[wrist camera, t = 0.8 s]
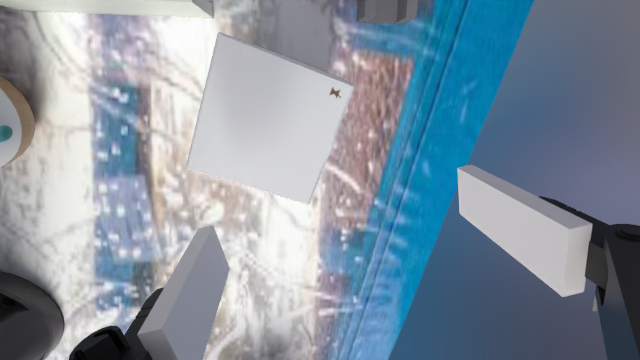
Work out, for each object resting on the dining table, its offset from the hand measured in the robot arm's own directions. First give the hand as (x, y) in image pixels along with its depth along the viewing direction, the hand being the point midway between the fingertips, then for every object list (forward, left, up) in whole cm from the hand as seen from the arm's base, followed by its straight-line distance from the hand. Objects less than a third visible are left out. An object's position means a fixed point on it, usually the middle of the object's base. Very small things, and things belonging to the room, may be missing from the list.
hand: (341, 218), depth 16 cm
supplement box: (-4, +4, -20) cm, 21 cm away
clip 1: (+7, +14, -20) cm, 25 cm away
